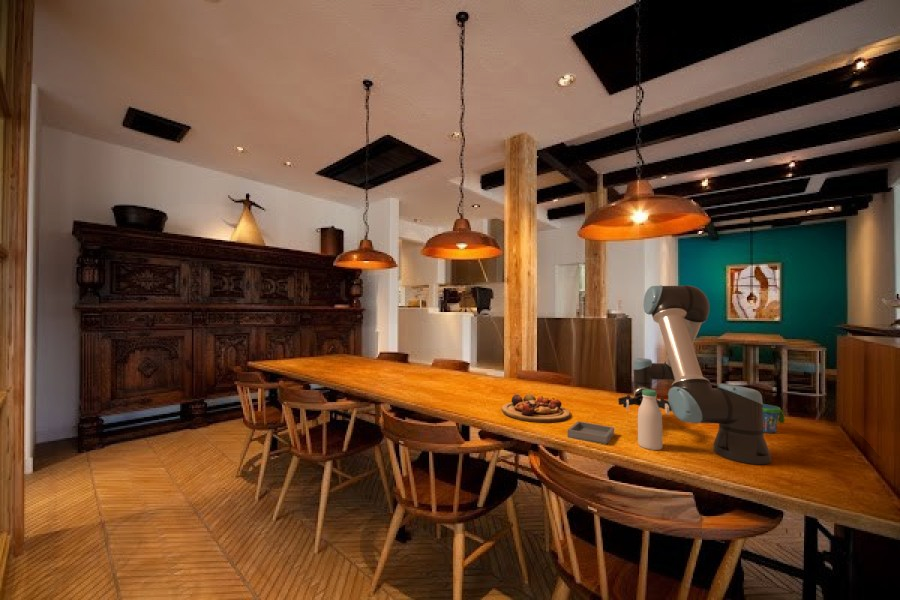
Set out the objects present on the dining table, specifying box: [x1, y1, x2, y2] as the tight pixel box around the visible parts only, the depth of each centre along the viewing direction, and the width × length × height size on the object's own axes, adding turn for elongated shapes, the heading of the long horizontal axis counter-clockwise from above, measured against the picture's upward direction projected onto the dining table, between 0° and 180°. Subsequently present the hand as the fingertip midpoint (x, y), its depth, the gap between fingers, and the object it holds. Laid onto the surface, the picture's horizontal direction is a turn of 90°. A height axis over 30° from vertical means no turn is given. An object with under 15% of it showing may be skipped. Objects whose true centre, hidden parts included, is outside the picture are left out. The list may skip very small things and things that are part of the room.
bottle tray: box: [567, 421, 615, 446], centre depth 139 cm, size 14×14×3 cm
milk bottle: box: [637, 389, 664, 451], centre depth 129 cm, size 8×8×20 cm
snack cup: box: [763, 403, 786, 434], centre depth 148 cm, size 16×10×10 cm
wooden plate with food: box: [501, 393, 571, 423], centre depth 171 cm, size 32×32×8 cm
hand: (647, 408), depth 138 cm, fingers open, 13 cm apart
